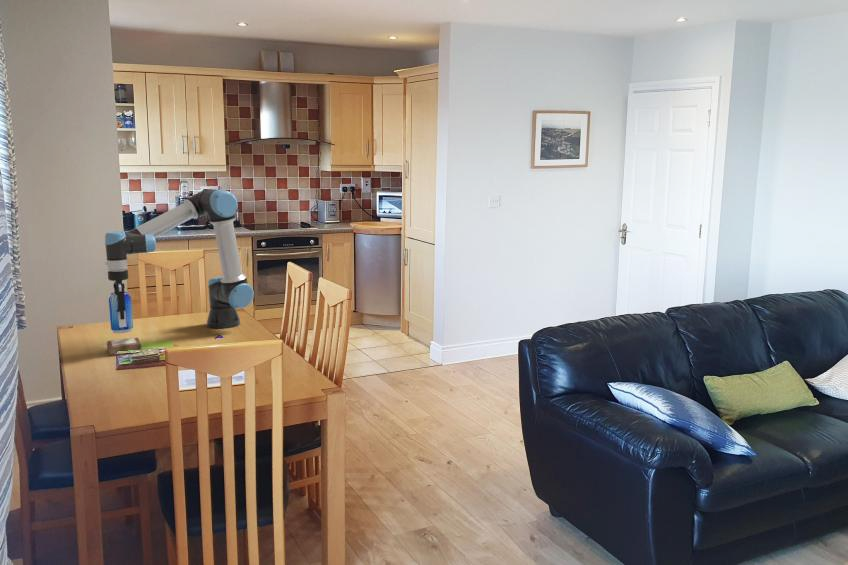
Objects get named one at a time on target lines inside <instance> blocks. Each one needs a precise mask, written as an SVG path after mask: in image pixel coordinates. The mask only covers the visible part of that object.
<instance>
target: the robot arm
mask: <svg viewBox="0 0 848 565" xmlns="http://www.w3.org/2000/svg"><path fill="white" fill-rule="evenodd" d="M238 206H239V204H238V199H237V197H236V196H235V195H234V193H232V192H231V191H228V190H225V189H222V188H221V189H211V188H208V189H204V190H201V191H199V192H198V193H195V194H194V195H192V196H190V197H188V198H186V199H184V200H183V203H182V204H179V205H178V206H175V207H174V208H172V209H170V210H168V211H166V212H164V213H162V214H160V215H158V216H156V217H154V218H152V219H150V220H148V221H146V222H145V223H142V224H140V225H137V227H135V228H132V229H131V230H128V231H108V232H106V233H105V237H104V245H105V253H106V262H105V265H106V267H107V270H108V271H107V279H108V280H109V281H112V282H114V283H113V289H114V290H113V293H114V292H115V295H117V300H118V310H116V311H117V312H118V318H119V327H127V326H126V313H125V310H126V308H125V300H124V294H125V292H126V291H125V284H124V282H123V281H127V280H129V271H128V255H135V254H149V253H153V252H155V251H156V249H157V241H156V240H157V239H156V238H157V237H159V236H161V235H164V233H166V232H169V231H171V230H173V229H174V228H176V227H178V226H180V225H182V224H184V223H186V222H187V221H188V222H189V221H190V220H191V219H193V220H197V219H198V218H201V217H204V216H207V219H208V223H210V224H211V225H213V230H214V231H213V232H214V235H215V241H216V246H217V251H218V257H219V261H220V268H221V271H222V276H217V277H212V278H209V279H208V286H207V287H208V297H209V298H208V299H209V312H208V316H207V319H206V326H207V327H208V328H212V329H227V328H233V327H237V326H239V325H240V324H241V319H240V316H239V314H238V311H237V309H244V308H247V307H248V306H250V304H251V303H252V301H253V299H254V296H255V293H254V292H255V291H254V289H253V287H252V286H251V285H250V284H249V282H248V279H247V276H246V275H245V274H244V273H243V270H242V265H241V259H240V254H239V252H240V251H239V248H238V244H237V243H238V242H237V237H236V231H235V227H234V226H235V225H234V221H236V212H237V211H238V208H239V207H238ZM121 307H123V308H121Z"/></svg>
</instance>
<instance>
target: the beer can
mask: <svg viewBox="0 0 848 565" xmlns="http://www.w3.org/2000/svg"><path fill="white" fill-rule="evenodd" d="M124 292H125V294H124V300H125V308H126V310H125V313H126V326H127V327H119V318H118V312H117V311H116V310H118V300H117V295H115V292H114V291H113V292H111V293H110V296H109V298H108V308H109V320H110V330H111V331H112V332H113V333H114V334H125V333H130V332H132V330H133V329H134V319H133V307H132V297H131V296H130V294H129V292H128V291H124ZM121 308H123V307H121Z"/></svg>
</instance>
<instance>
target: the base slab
mask: <svg viewBox="0 0 848 565" xmlns="http://www.w3.org/2000/svg"><path fill="white" fill-rule="evenodd" d="M106 345H107V352H108V355H109V357H115V356H117V355H116V353H117V352H118V351H128V350H140V349H141V350H142V345H141V342H140V340H139V338H138V337H129V338H120V339H119V338H118V339H111V340H107V341H106Z"/></svg>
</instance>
